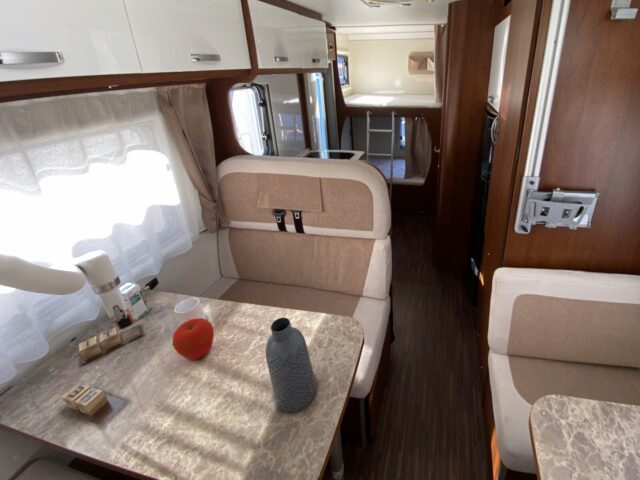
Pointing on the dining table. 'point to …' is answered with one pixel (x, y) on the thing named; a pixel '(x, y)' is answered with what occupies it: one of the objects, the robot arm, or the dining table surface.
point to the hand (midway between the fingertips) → (125, 322)
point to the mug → (189, 310)
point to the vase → (289, 367)
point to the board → (107, 343)
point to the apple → (193, 338)
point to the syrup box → (134, 300)
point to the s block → (127, 315)
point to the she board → (100, 412)
